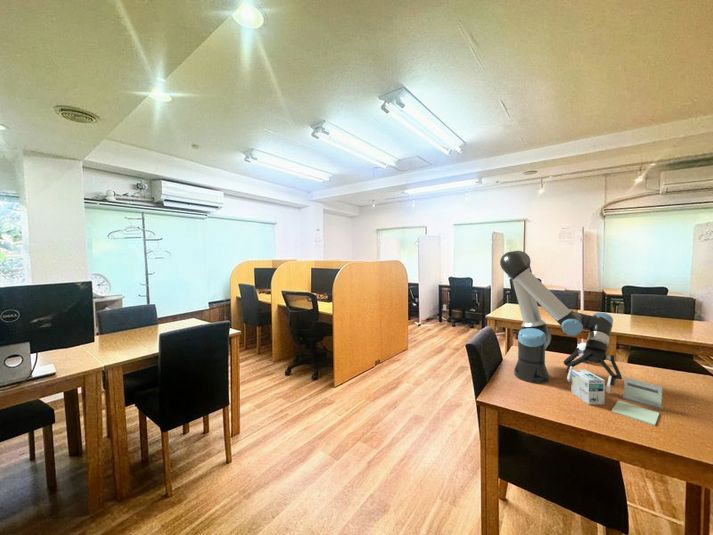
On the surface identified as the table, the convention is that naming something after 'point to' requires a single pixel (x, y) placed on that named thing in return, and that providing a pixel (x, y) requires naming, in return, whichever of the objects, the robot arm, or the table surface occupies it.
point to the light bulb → (582, 347)
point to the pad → (636, 412)
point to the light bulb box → (588, 387)
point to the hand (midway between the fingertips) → (587, 385)
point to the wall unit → (643, 393)
